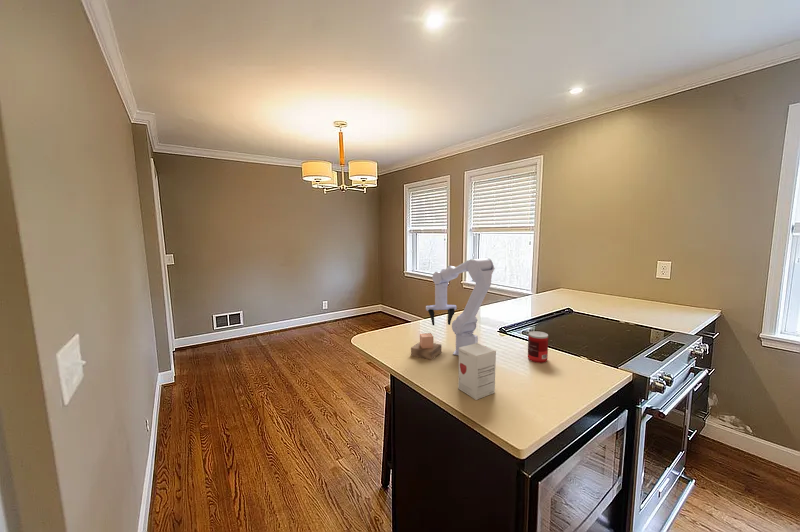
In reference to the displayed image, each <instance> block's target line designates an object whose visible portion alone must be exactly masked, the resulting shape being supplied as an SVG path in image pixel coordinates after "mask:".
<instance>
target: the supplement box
mask: <svg viewBox="0 0 800 532" xmlns="http://www.w3.org/2000/svg"><path fill="white" fill-rule="evenodd" d="M496 355H497V350H495V349H492V348H490V347H488V346H487V345H486V346H485V345H483V344H481V343H479V342H478V343H475V344H471V345H468V346H463V347H460V348H459V355H458V383H457V384H458V390H460V391H461V392H463V393H465V394H466V395H468V396H469V397H471V398H472V399H473V400H475V401H477V400H480V399H483V398H484V397H487V396H490V395H492V394H494V393H496V360H497V356H496Z"/></svg>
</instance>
